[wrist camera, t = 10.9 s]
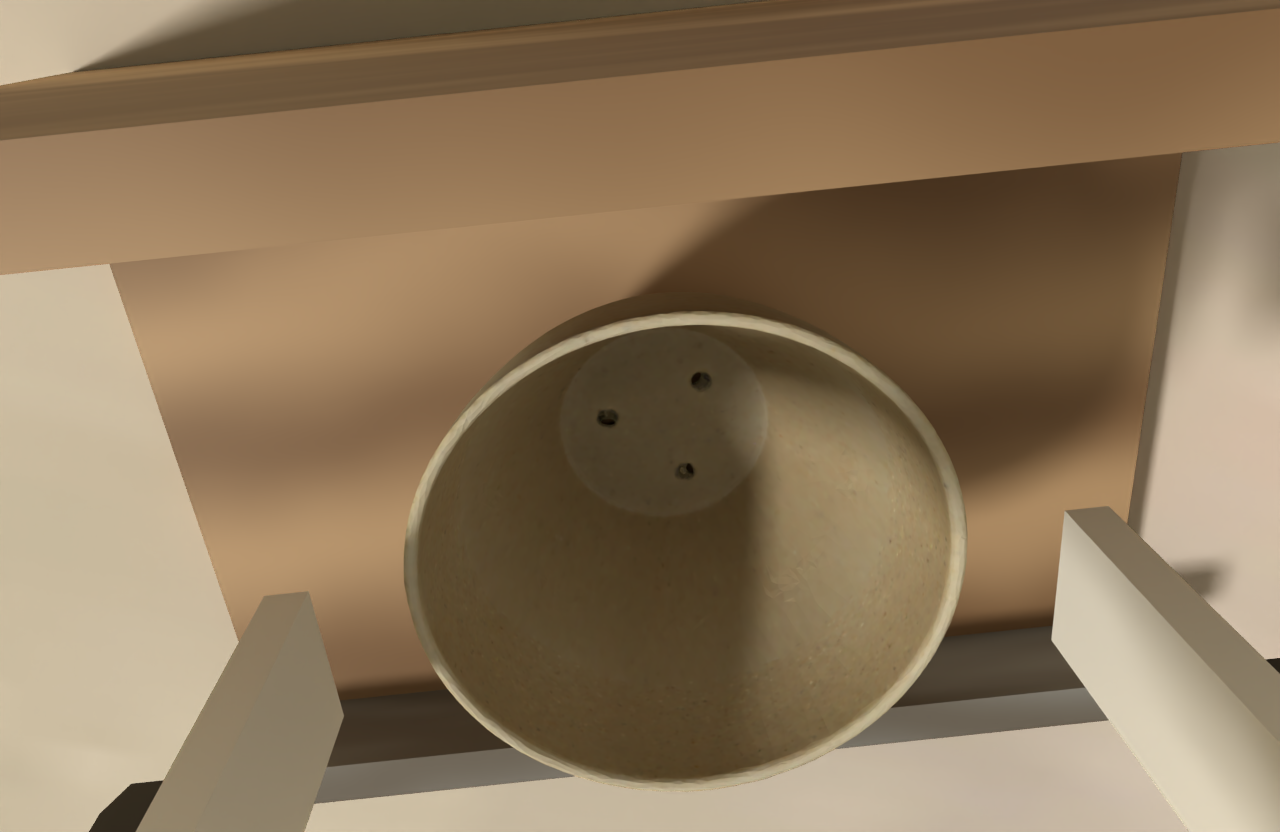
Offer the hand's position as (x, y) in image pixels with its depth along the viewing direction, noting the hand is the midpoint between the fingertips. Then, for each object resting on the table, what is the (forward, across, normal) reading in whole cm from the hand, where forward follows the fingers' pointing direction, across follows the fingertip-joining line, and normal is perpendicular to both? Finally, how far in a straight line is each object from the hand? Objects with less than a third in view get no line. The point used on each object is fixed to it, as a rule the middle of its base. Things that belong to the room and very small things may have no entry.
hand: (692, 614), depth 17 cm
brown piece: (+8, 0, -1) cm, 9 cm away
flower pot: (+8, 0, -1) cm, 8 cm away
